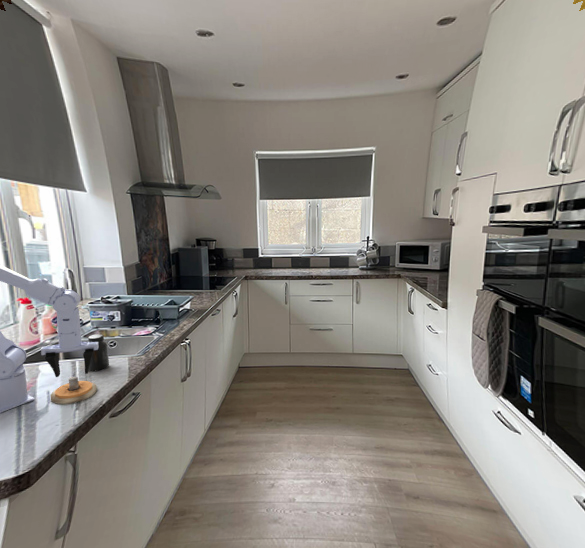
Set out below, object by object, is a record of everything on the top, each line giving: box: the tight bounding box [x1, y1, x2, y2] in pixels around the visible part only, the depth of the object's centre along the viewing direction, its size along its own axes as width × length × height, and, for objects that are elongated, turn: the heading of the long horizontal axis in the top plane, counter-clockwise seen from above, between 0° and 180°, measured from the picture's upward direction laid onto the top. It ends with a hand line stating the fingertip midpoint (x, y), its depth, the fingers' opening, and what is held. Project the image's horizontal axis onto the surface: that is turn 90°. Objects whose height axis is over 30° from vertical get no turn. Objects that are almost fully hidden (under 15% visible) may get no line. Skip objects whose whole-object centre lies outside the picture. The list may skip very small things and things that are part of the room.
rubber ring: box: [54, 380, 93, 399], centre depth 106 cm, size 10×10×1 cm
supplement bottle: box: [87, 333, 110, 372], centre depth 124 cm, size 7×7×12 cm
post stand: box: [50, 376, 98, 405], centre depth 106 cm, size 12×12×5 cm
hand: (72, 374), depth 105 cm, fingers open, 7 cm apart
